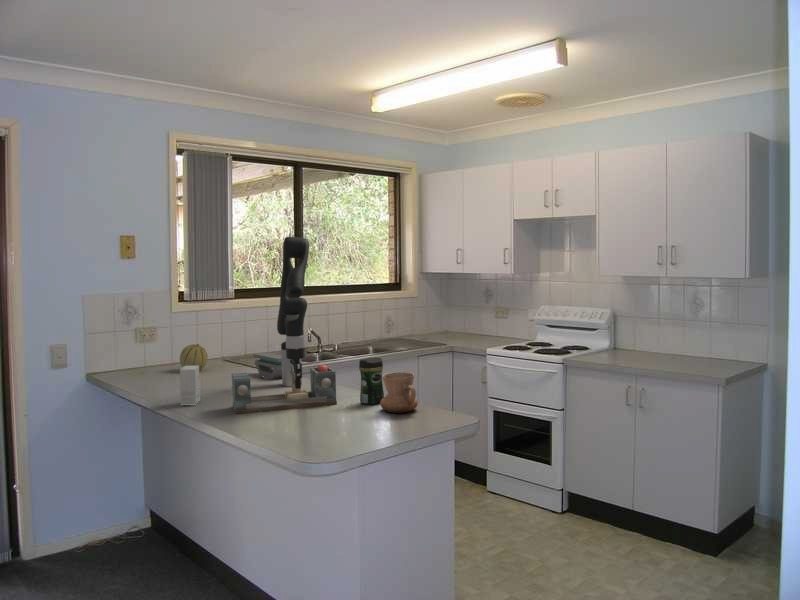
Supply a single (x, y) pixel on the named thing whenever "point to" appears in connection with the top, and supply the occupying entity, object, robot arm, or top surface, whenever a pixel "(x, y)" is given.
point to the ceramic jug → (399, 392)
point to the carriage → (295, 392)
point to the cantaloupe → (193, 356)
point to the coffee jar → (371, 380)
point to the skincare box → (189, 385)
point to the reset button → (322, 368)
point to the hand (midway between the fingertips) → (296, 386)
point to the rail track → (318, 396)
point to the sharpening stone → (269, 365)
